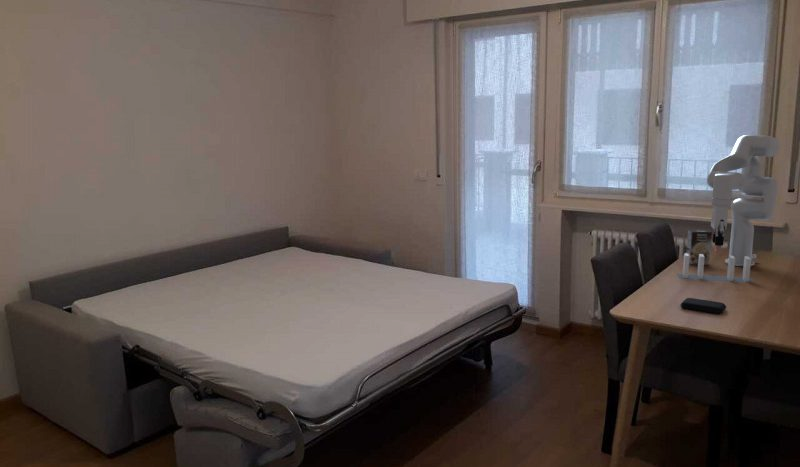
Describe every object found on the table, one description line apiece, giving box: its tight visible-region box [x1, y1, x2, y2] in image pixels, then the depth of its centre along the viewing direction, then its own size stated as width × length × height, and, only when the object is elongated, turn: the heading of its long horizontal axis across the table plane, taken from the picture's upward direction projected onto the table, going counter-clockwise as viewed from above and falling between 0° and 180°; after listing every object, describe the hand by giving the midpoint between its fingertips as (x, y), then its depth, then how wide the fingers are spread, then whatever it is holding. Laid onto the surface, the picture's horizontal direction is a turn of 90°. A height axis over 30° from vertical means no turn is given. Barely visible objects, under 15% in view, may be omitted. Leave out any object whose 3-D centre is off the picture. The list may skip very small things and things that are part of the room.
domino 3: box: [726, 255, 736, 281], centre depth 269 cm, size 2×5×10 cm, turn 162°
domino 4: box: [741, 256, 751, 282], centre depth 267 cm, size 2×5×10 cm, turn 162°
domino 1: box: [682, 252, 690, 278], centre depth 275 cm, size 2×5×10 cm, turn 162°
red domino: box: [713, 228, 722, 254], centre depth 268 cm, size 2×5×10 cm, turn 162°
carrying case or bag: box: [680, 297, 727, 316], centre depth 233 cm, size 11×3×15 cm
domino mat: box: [676, 273, 756, 284], centre depth 272 cm, size 30×8×1 cm, turn 72°
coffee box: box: [685, 229, 713, 266], centre depth 299 cm, size 9×6×16 cm
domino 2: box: [696, 254, 705, 279], centre depth 273 cm, size 2×5×10 cm, turn 162°
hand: (717, 243), depth 269 cm, fingers closed on red domino, 4 cm apart
